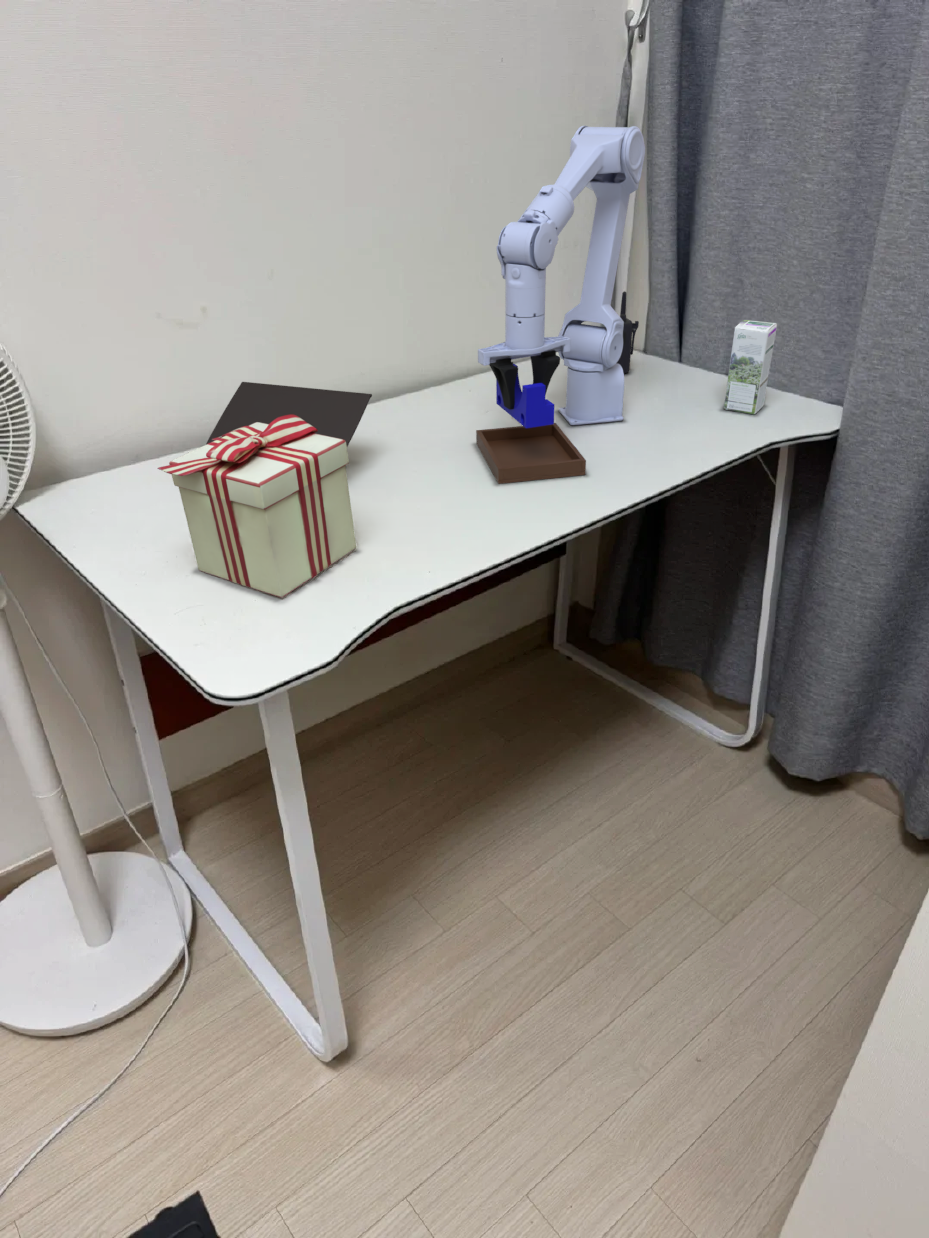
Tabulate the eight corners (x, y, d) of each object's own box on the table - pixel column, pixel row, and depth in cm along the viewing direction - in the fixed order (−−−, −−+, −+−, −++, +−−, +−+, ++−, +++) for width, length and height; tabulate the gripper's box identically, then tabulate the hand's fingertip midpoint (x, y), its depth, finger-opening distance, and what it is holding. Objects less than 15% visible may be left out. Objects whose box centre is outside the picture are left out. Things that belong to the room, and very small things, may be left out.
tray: (555, 436, 143) (555, 422, 141) (585, 475, 129) (586, 460, 128) (476, 444, 141) (476, 430, 139) (498, 484, 127) (498, 469, 126)
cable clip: (553, 424, 128) (555, 384, 125) (525, 428, 127) (526, 388, 124) (522, 400, 138) (523, 362, 134) (496, 403, 136) (496, 366, 133)
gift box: (252, 520, 119) (231, 398, 110) (364, 546, 112) (351, 418, 102) (164, 575, 107) (131, 443, 97) (283, 609, 99) (260, 470, 90)
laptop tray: (198, 521, 132) (170, 483, 125) (258, 413, 143) (236, 371, 135) (331, 542, 125) (310, 502, 118) (384, 426, 136) (368, 383, 128)
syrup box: (764, 405, 152) (778, 321, 145) (754, 415, 148) (768, 330, 140) (732, 400, 155) (744, 318, 147) (722, 410, 151) (734, 326, 143)
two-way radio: (611, 367, 174) (616, 289, 166) (633, 367, 173) (640, 289, 165) (612, 375, 169) (618, 296, 161) (635, 375, 169) (642, 296, 161)
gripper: (554, 301, 130) (552, 389, 137) (467, 313, 125) (470, 404, 132) (579, 311, 124) (575, 402, 132) (489, 324, 119) (490, 418, 127)
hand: (524, 404), depth 131 cm, fingers closed on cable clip, 4 cm apart
